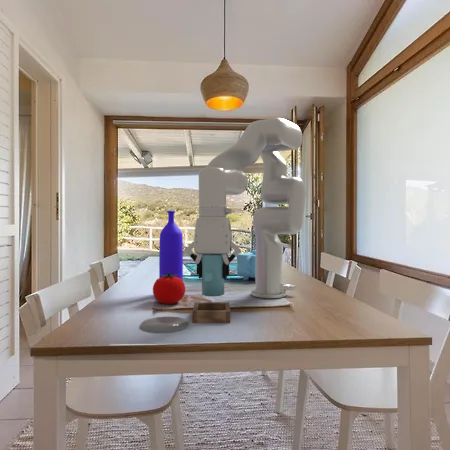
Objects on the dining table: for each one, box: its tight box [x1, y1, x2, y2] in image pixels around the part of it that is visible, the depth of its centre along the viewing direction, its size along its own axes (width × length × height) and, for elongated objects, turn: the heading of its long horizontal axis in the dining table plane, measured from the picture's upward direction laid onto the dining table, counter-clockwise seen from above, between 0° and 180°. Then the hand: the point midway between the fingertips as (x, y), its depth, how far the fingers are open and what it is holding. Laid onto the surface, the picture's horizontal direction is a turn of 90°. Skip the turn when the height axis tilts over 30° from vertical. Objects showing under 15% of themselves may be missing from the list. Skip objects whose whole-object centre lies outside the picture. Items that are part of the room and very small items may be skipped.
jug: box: [201, 254, 225, 297], centre depth 100 cm, size 10×6×11 cm, turn 171°
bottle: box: [158, 210, 184, 282], centre depth 131 cm, size 8×8×30 cm
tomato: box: [152, 273, 186, 305], centre depth 118 cm, size 10×10×10 cm
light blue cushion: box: [232, 249, 256, 281], centre depth 165 cm, size 18×16×13 cm
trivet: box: [140, 316, 189, 334], centre depth 94 cm, size 12×12×1 cm
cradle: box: [191, 301, 231, 324], centre depth 102 cm, size 10×10×4 cm
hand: (213, 277), depth 102 cm, fingers closed on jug, 6 cm apart
